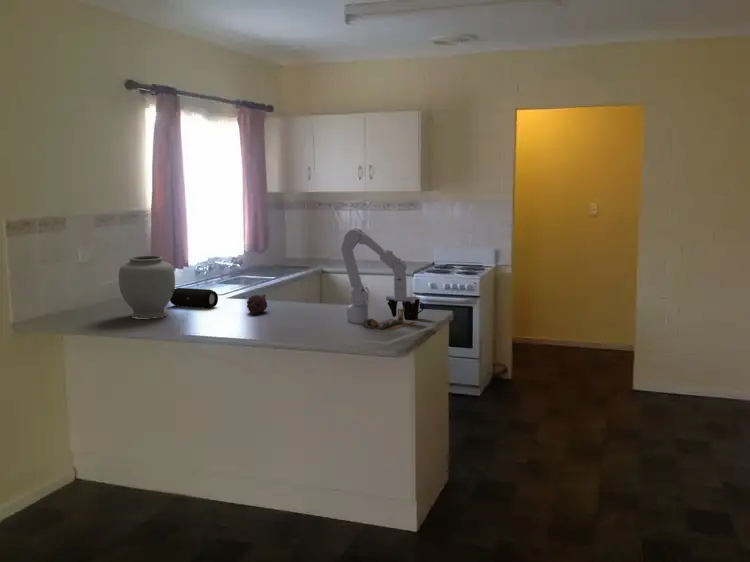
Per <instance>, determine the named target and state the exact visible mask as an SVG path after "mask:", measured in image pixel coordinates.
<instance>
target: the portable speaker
mask: <svg viewBox="0 0 750 562" xmlns="http://www.w3.org/2000/svg"><path fill="white" fill-rule="evenodd" d="M169 302H170V303H171V304H172V305H174V306H175V307H183V308H192V309H194V308H195V309H196V308H197V309H211V308H215V307H216V306H217V304H218V302H219V295H218V293H217V292H216V291H215V290H213V289H209V288H207V289H206V288H190V287H188V288H187V287H177V288H176V287H175V289H174V293H173V295H172V297H171V299H170V301H169Z"/></svg>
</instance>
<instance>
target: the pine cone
mask: <svg viewBox="0 0 750 562" xmlns="http://www.w3.org/2000/svg"><path fill="white" fill-rule="evenodd" d="M266 296H267V295H266V294H262V295H259V294H254V295H251V297H248V300H247V301H246V304H247V305H246V307H247V308H248V309H247V310H248V311H249V313H250V314H252V315H257V314H259V313H260V312H261V313H262V312H265V310H266V309H267V307H268V302H267V300H266Z"/></svg>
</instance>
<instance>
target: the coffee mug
mask: <svg viewBox="0 0 750 562" xmlns="http://www.w3.org/2000/svg"><path fill="white" fill-rule="evenodd" d="M408 297H409V298H415V303H414V304H413V306H412V308H411V311H410V314H409V318H405V310H404V305H403V303H406V302H401V304H402V309H403V320H404V321H417V320H418V318H419V314H420V313H421V312H423V310H424V309H425V304H424V303H423V302H422V301H420V300H421V298H420V297H419V296H408ZM402 301H403V300H402ZM420 304H421V305H422V308H421V309H420Z"/></svg>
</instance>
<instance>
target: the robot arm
mask: <svg viewBox="0 0 750 562" xmlns="http://www.w3.org/2000/svg"><path fill="white" fill-rule="evenodd" d="M357 245H365V246H367V247H368V248H369V249H371V251H373V252H375V253H376V254H377V255H378V256H379V260H380V261H381V262H382V263H384V264H385V265H386V266H388V268H389V269H391V270H392V273H393V295H387V296H385V301H386V302H387V305H388V307H389V309H390V312H391V315H392V318H395V317H397V315H398V309H397V307H398V302H399V303H400V302H401V303H402V302H406V303H403V305H404V310H405V318H409V314H410V311H411V308H412V306H413V304H414V303H415V298H409V297H410V296H407V273H406V271H407V268H408V265H407V263H405V261H404V260H402V258H400V257H399V258H398V257H397V255H395V254H394V251H392V250H389V249H384V248H382V247H381V246H380V244H378V243H377V242H376V241H375V240H374V239H373V238H372V237H370V236H369V234H367V233H366V232H364V231H363V230H362V229H361V228H357V227H356V228H352V229H350V230H348V231H347V233H346V234H345V235H344V237H343V241H342V244H341V249H340V251H341V255H342V258H343V262H344V265H345V269H346V273H347V277H348V280H349V283H350V293H351V301H350V302H351V304H349V305H348V307H347V309H346V322H347V323H353V324H358V325H359V324H364V321H365V320H368V319H369V304H368V302H367V301H368V299H369V294H368V292H367V291H366V290H365V287H364V285H363V283H362V279H361V276H360V273H359V269H358V265H357V261H356V258H355V257H356V256H355V253H354V249H355V248H356V246H357ZM402 300H403V301H402ZM403 305H402V306H403Z"/></svg>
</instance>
